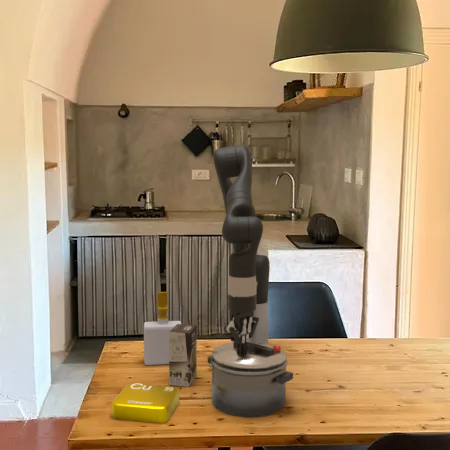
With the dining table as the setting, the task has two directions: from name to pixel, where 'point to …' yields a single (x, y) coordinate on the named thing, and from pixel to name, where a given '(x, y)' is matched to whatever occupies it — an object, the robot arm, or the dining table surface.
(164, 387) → the element tile
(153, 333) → the soap bottle
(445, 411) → the dining table surface
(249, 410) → the cooker pot
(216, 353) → the cooker lid
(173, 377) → the coffee box
